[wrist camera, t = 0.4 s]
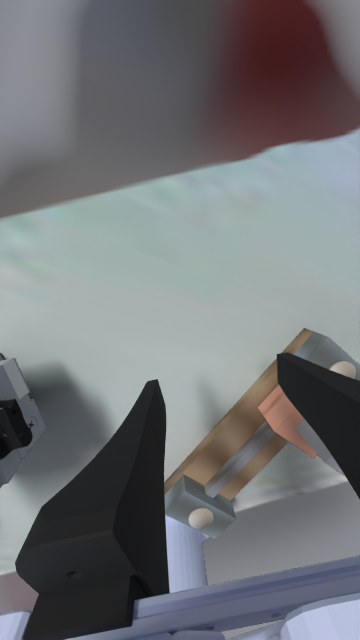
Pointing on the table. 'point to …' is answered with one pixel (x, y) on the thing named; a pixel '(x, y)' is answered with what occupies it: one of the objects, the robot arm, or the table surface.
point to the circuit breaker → (16, 419)
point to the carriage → (294, 427)
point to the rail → (240, 445)
